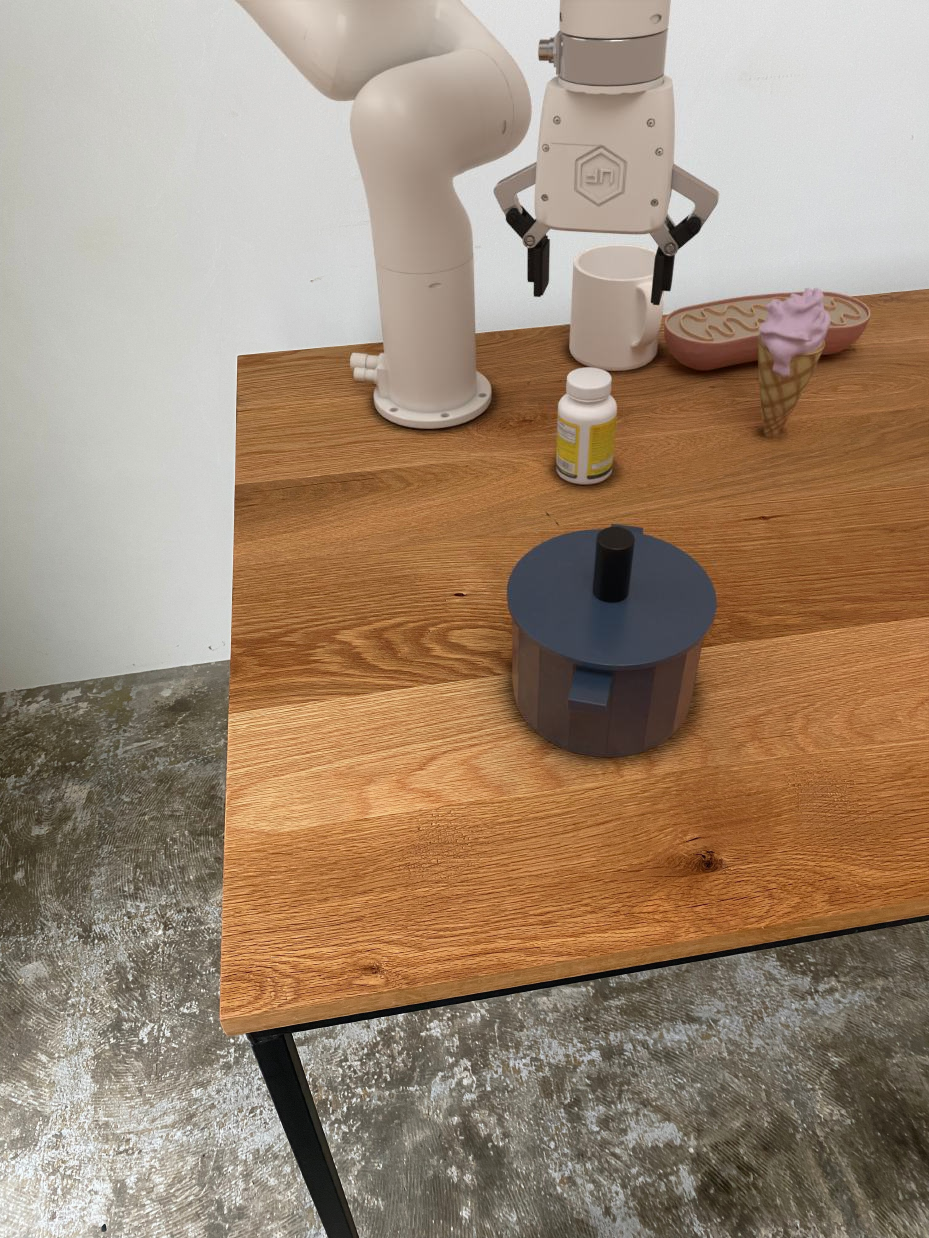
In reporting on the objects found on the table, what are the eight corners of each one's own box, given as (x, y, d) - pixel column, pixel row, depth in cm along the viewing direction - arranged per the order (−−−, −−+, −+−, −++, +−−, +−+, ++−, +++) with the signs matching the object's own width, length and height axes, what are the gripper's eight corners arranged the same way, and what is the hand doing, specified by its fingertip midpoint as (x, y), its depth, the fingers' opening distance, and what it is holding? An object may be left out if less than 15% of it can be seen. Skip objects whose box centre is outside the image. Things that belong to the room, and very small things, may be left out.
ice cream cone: (804, 456, 90) (841, 307, 80) (738, 451, 91) (766, 303, 81) (800, 421, 95) (835, 275, 85) (737, 416, 96) (764, 272, 86)
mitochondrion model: (677, 390, 100) (683, 347, 97) (646, 349, 107) (650, 307, 104) (874, 364, 103) (887, 321, 100) (831, 325, 110) (841, 284, 107)
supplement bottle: (615, 458, 91) (623, 365, 84) (608, 489, 87) (616, 395, 81) (559, 452, 92) (563, 361, 85) (551, 483, 88) (554, 390, 82)
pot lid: (485, 657, 59) (483, 591, 56) (530, 529, 69) (531, 465, 65) (706, 694, 57) (720, 626, 53) (720, 555, 66) (733, 489, 62)
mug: (553, 342, 109) (556, 255, 102) (626, 324, 112) (634, 238, 105) (609, 390, 101) (617, 297, 94) (687, 368, 104) (700, 277, 97)
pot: (486, 769, 63) (484, 676, 57) (540, 596, 76) (542, 506, 70) (677, 805, 61) (696, 712, 55) (699, 620, 74) (716, 529, 68)
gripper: (480, 70, 65) (486, 306, 77) (734, 74, 62) (701, 321, 73) (504, 46, 71) (506, 270, 82) (739, 48, 67) (707, 283, 78)
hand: (598, 294), depth 78 cm, fingers open, 9 cm apart
